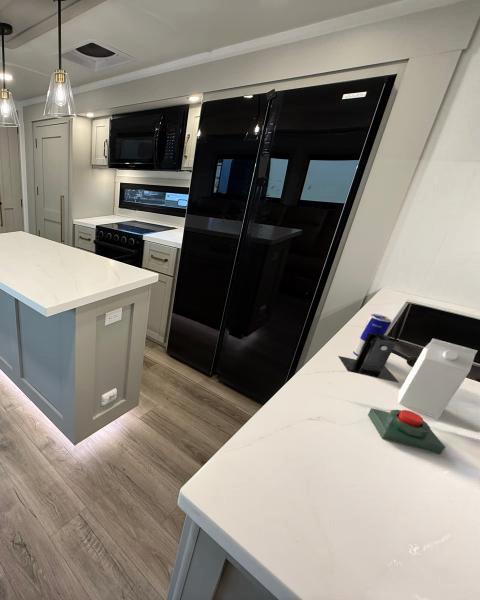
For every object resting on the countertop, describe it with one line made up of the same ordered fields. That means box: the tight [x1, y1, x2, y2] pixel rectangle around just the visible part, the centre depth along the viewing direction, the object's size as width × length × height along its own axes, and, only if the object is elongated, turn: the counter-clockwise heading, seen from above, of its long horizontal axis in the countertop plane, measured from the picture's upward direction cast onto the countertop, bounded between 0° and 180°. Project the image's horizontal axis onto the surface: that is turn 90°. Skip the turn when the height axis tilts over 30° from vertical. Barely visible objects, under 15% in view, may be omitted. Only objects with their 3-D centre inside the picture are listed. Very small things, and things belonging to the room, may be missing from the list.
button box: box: [367, 407, 446, 455], centre depth 70 cm, size 10×8×4 cm
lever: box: [370, 336, 419, 368], centre depth 89 cm, size 13×3×3 cm, turn 67°
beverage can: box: [352, 313, 393, 357], centre depth 97 cm, size 5×5×15 cm
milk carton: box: [397, 338, 478, 419], centre depth 76 cm, size 7×7×19 cm
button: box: [398, 409, 424, 428], centre depth 69 cm, size 4×4×2 cm
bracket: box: [337, 333, 400, 384], centre depth 91 cm, size 12×9×12 cm
